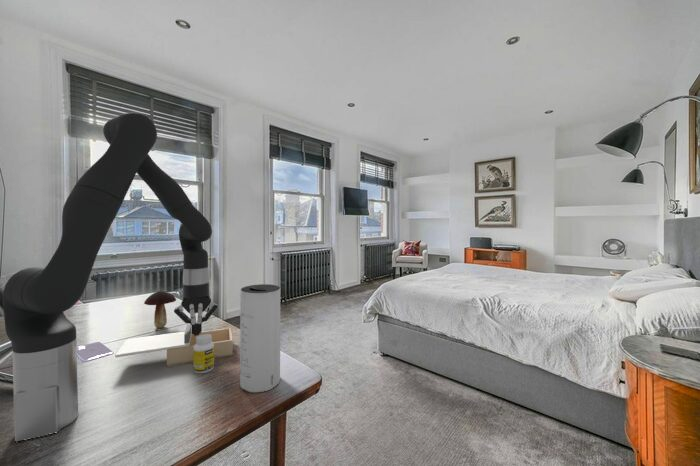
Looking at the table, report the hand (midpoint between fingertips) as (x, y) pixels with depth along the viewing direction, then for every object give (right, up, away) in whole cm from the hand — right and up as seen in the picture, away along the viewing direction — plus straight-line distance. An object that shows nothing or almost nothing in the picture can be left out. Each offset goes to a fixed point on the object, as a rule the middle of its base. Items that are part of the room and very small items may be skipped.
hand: (196, 334), depth 93 cm
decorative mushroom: (-27, -6, +23) cm, 36 cm away
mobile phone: (-35, -7, +2) cm, 36 cm away
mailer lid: (-10, -1, -4) cm, 11 cm away
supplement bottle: (+7, -7, -9) cm, 14 cm away
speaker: (+26, -7, -16) cm, 31 cm away
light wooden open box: (+1, -6, +1) cm, 7 cm away
